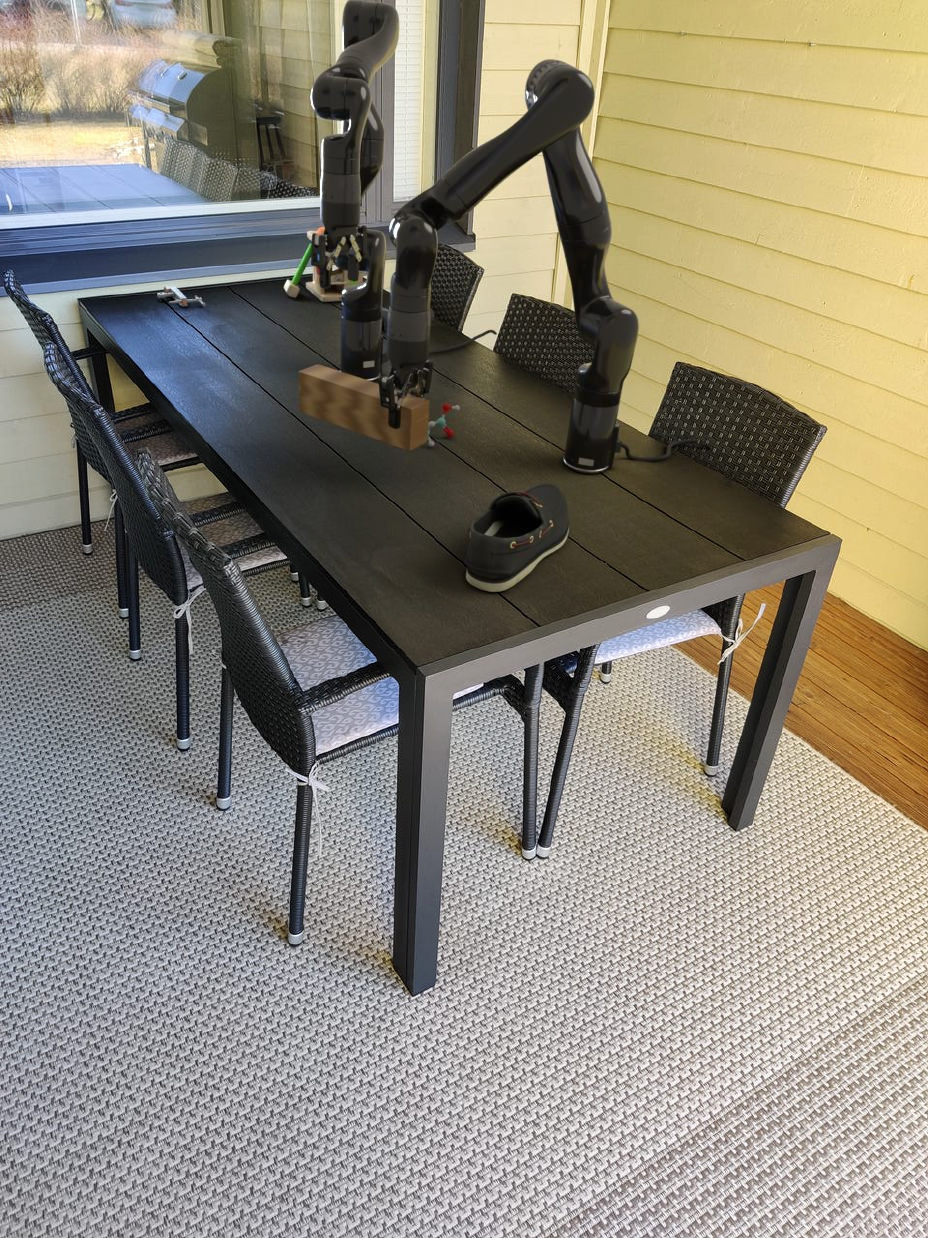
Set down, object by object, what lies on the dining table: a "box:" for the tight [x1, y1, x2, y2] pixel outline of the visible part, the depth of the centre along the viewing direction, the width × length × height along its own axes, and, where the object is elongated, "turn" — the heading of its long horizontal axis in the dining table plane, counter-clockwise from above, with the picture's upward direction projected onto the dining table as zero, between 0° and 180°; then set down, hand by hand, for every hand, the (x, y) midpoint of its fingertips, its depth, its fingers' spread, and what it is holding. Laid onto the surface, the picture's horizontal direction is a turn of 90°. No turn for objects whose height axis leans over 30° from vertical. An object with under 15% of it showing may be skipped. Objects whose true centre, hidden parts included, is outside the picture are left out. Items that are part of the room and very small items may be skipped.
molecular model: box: [423, 397, 461, 448], centre depth 203 cm, size 12×10×10 cm
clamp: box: [156, 285, 207, 307], centre depth 265 cm, size 15×2×10 cm
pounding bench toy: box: [283, 226, 367, 303], centre depth 277 cm, size 23×14×18 cm, turn 116°
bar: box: [298, 363, 431, 452], centre depth 185 cm, size 26×6×8 cm, turn 57°
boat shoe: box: [464, 483, 570, 593], centre depth 168 cm, size 13×33×10 cm, turn 147°
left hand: (339, 284), depth 194 cm, fingers open, 8 cm apart
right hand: (404, 422), depth 181 cm, fingers closed on bar, 5 cm apart
